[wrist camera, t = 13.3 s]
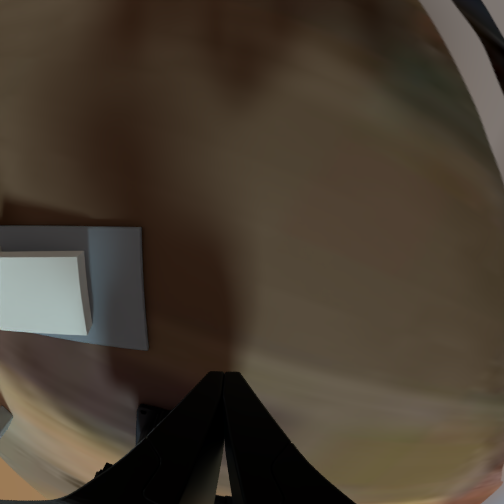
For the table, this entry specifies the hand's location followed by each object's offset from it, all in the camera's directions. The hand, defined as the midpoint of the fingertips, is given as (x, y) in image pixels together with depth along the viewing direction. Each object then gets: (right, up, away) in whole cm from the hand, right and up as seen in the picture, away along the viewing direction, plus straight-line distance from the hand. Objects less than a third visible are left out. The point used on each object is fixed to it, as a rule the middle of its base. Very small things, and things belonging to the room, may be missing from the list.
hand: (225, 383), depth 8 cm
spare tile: (-10, +1, +9) cm, 13 cm away
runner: (-21, +2, +9) cm, 23 cm away
